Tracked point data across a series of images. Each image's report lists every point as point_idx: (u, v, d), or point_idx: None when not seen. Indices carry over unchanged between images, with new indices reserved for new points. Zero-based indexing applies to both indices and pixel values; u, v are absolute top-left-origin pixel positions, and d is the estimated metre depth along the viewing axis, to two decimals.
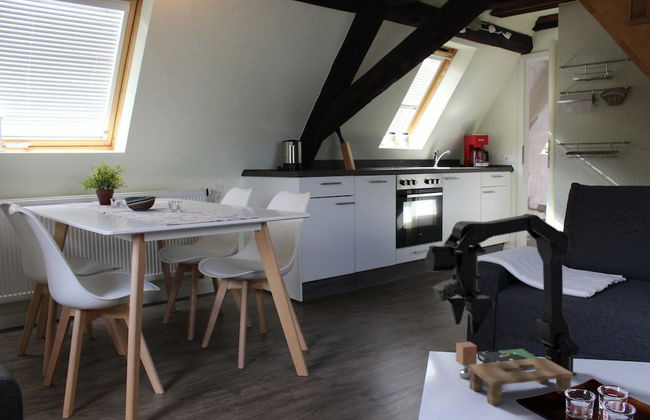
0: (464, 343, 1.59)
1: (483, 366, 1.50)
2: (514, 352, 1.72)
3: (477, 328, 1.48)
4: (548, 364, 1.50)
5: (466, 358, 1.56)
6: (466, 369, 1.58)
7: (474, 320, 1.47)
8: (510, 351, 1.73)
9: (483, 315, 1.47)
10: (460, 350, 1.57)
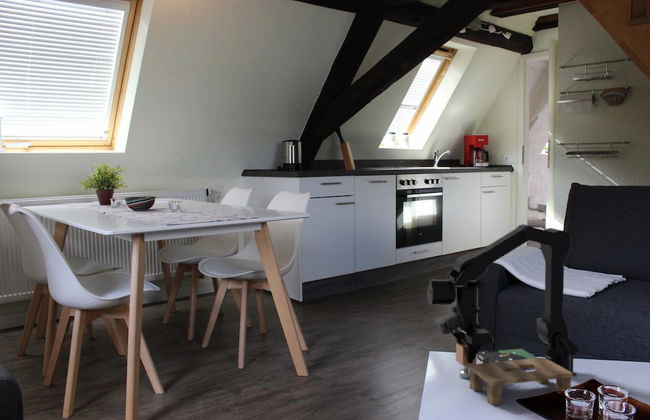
0: (464, 343, 1.59)
1: (483, 366, 1.50)
2: (514, 352, 1.72)
3: (473, 358, 1.56)
4: (548, 364, 1.50)
5: (466, 358, 1.56)
6: (466, 369, 1.58)
7: (470, 350, 1.55)
8: (510, 351, 1.73)
9: (478, 345, 1.55)
10: (460, 350, 1.57)
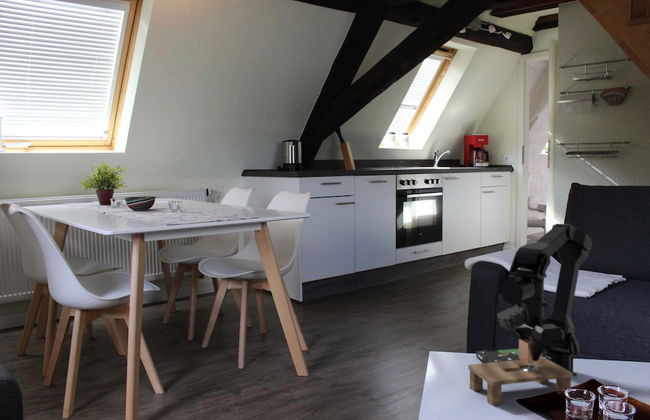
0: (527, 339, 1.49)
1: (483, 366, 1.50)
2: (513, 352, 1.72)
3: (539, 355, 1.45)
4: (548, 364, 1.50)
5: (531, 355, 1.46)
6: (530, 367, 1.48)
7: (536, 347, 1.44)
8: (509, 351, 1.74)
9: (545, 342, 1.44)
10: (525, 346, 1.47)
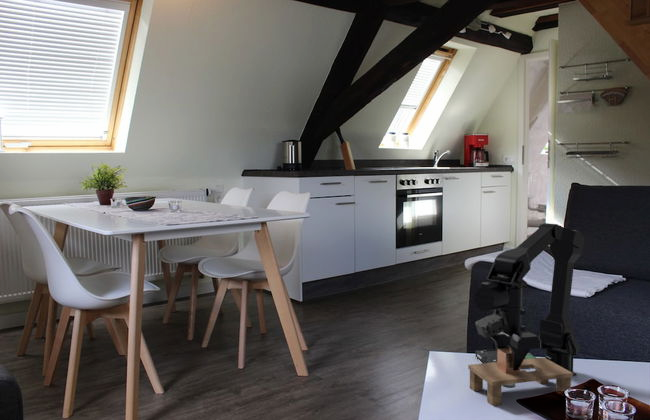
0: (506, 349, 1.48)
1: (483, 366, 1.50)
2: None
3: (519, 364, 1.43)
4: (548, 364, 1.50)
5: (509, 365, 1.45)
6: None
7: (516, 356, 1.42)
8: None
9: (525, 351, 1.42)
10: (503, 356, 1.45)
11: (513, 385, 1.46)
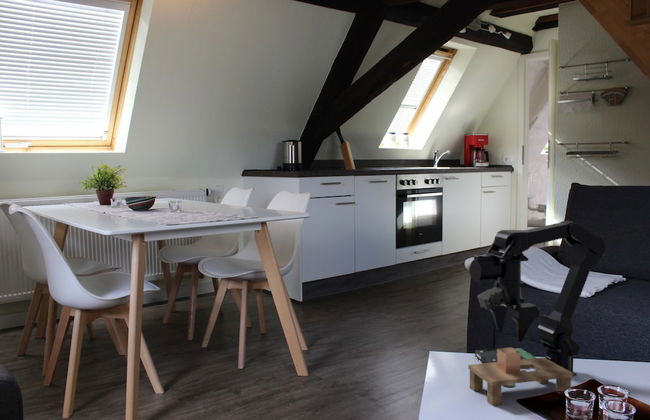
0: (506, 349, 1.48)
1: (483, 366, 1.50)
2: None
3: (523, 335, 1.50)
4: (548, 364, 1.50)
5: (509, 365, 1.45)
6: None
7: (520, 328, 1.49)
8: None
9: (529, 323, 1.49)
10: (503, 356, 1.45)
11: (513, 385, 1.46)
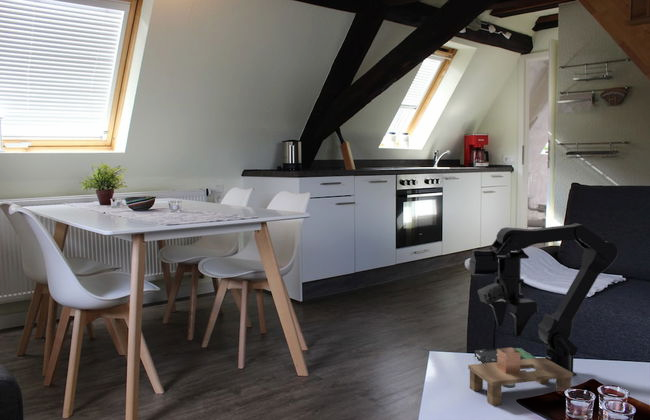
0: (506, 349, 1.48)
1: (483, 366, 1.50)
2: None
3: (521, 330, 1.54)
4: (548, 364, 1.50)
5: (509, 365, 1.45)
6: None
7: (518, 323, 1.53)
8: None
9: (527, 318, 1.53)
10: (503, 356, 1.45)
11: (513, 385, 1.46)
